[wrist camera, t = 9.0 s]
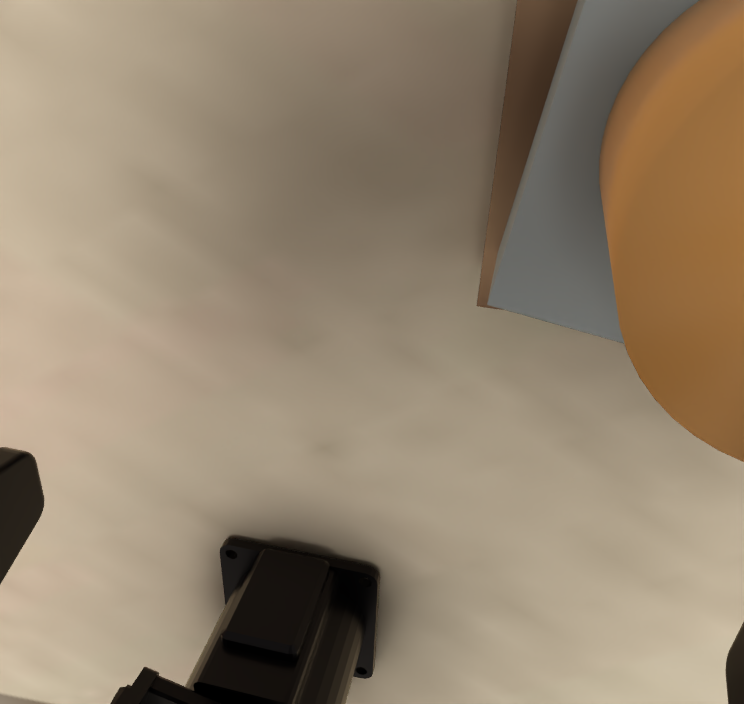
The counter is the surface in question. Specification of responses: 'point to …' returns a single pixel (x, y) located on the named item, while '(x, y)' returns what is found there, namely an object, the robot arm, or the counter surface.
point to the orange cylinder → (683, 219)
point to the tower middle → (574, 174)
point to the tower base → (522, 111)
